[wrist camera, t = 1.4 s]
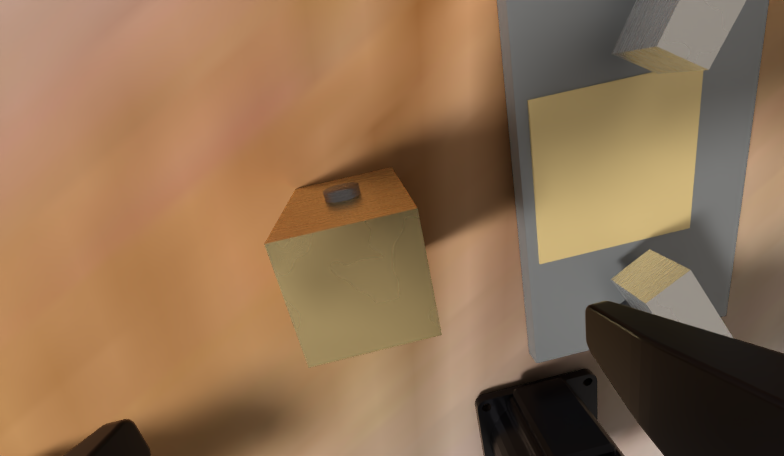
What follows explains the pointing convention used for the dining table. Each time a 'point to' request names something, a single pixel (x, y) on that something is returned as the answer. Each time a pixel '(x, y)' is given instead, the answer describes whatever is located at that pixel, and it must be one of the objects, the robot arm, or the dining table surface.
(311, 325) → the block
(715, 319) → the wood-capped gray bar
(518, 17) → the board
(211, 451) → the dining table surface
